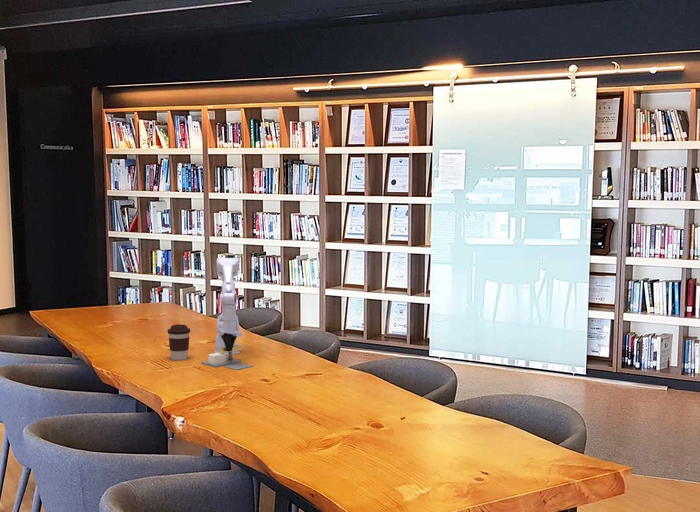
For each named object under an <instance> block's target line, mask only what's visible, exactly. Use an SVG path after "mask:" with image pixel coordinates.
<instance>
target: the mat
mask: <svg viewBox="0 0 700 512" xmlns="http://www.w3.org/2000/svg"><path fill="white" fill-rule="evenodd" d="M226 367H227V368H226ZM223 368H226V369H231V370H235V371H239V370H243V369H244V368H245V369H248V368H254V365H251V364H247V363H242V362H240V363H235V364H230V365H226V366H223Z"/></svg>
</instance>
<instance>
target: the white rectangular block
mask: <svg viewBox="0 0 700 512" xmlns="http://www.w3.org/2000/svg"><path fill="white" fill-rule="evenodd" d="M226 357H227V355H226V354H224V353H214V352H213V353H209V354H207V361H208V363H212V364H218V363H223V362H226Z"/></svg>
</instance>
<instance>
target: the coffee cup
mask: <svg viewBox="0 0 700 512" xmlns="http://www.w3.org/2000/svg"><path fill="white" fill-rule="evenodd" d="M190 333H191V328H190V327H188V325H186V324H173V325H171V326H170V327H169V328H168V329H167V334H168V344H169V346H168V347H169V352H170V359H171V360H173V361H183V360H187V359H188V358H189V357H188V356H189V347H190Z"/></svg>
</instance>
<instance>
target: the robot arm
mask: <svg viewBox="0 0 700 512" xmlns="http://www.w3.org/2000/svg"><path fill="white" fill-rule="evenodd" d="M238 272H239V258H238V257H225V258H224V257H220V258H219V257H217V258H216V274H217V277H219V278H221V280H222V282H221V296H220V298H221V299H220V301H221V302H220V303H221V310H222V311H221V312H222V313H220V315H218V316H217V319H216V320H217V323H216V333H217V334H216V336H215V350H214V351H213V353H219V348H222V347H226V351H228V352H229V351H232V349H233V345H237V341H236V340H237V338H240V337H242V331H240V329H239V327H240V324H239V317H238V315H237V314H236V312H237V311H236V307H237V301H238V299H237V298H238V297H237V296H238V295H237V292H236V283H235V281H233V279H234V278H235V277H237V276H238ZM228 352H227V353H224V354H226V356H228ZM236 353H237V354H240V353H241V352H240V351H239V350H238V351H233V355H236Z"/></svg>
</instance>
